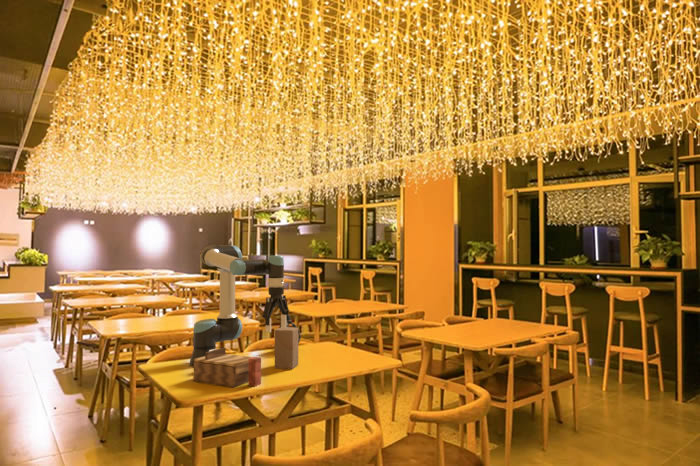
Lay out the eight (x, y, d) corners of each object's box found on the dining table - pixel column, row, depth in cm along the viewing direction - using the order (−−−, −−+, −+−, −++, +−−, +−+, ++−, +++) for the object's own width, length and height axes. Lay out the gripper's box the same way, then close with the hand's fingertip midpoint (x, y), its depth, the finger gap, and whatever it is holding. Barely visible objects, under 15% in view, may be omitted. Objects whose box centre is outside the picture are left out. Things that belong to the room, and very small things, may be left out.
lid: (194, 368, 214) (194, 352, 214) (216, 361, 227) (216, 346, 228) (236, 374, 203) (236, 357, 203) (257, 367, 216) (257, 350, 216)
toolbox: (193, 381, 213) (193, 362, 214) (217, 373, 228) (217, 355, 228) (233, 387, 203) (233, 367, 203) (255, 378, 217) (256, 359, 217)
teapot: (284, 355, 267) (284, 315, 268) (266, 348, 287) (267, 311, 288) (302, 352, 274) (302, 314, 275) (284, 345, 294) (284, 309, 295)
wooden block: (292, 369, 234) (292, 330, 235) (274, 368, 236) (274, 329, 237) (298, 364, 244) (298, 327, 245) (280, 364, 246) (281, 326, 247)
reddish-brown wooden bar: (248, 385, 206) (248, 358, 207) (253, 383, 210) (254, 356, 211) (255, 386, 205) (255, 359, 205) (260, 384, 208) (261, 357, 209)
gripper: (268, 288, 212) (268, 334, 211) (295, 285, 235) (295, 326, 234) (254, 288, 215) (254, 333, 214) (283, 284, 238) (283, 325, 237)
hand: (276, 329), depth 224 cm, fingers open, 13 cm apart
